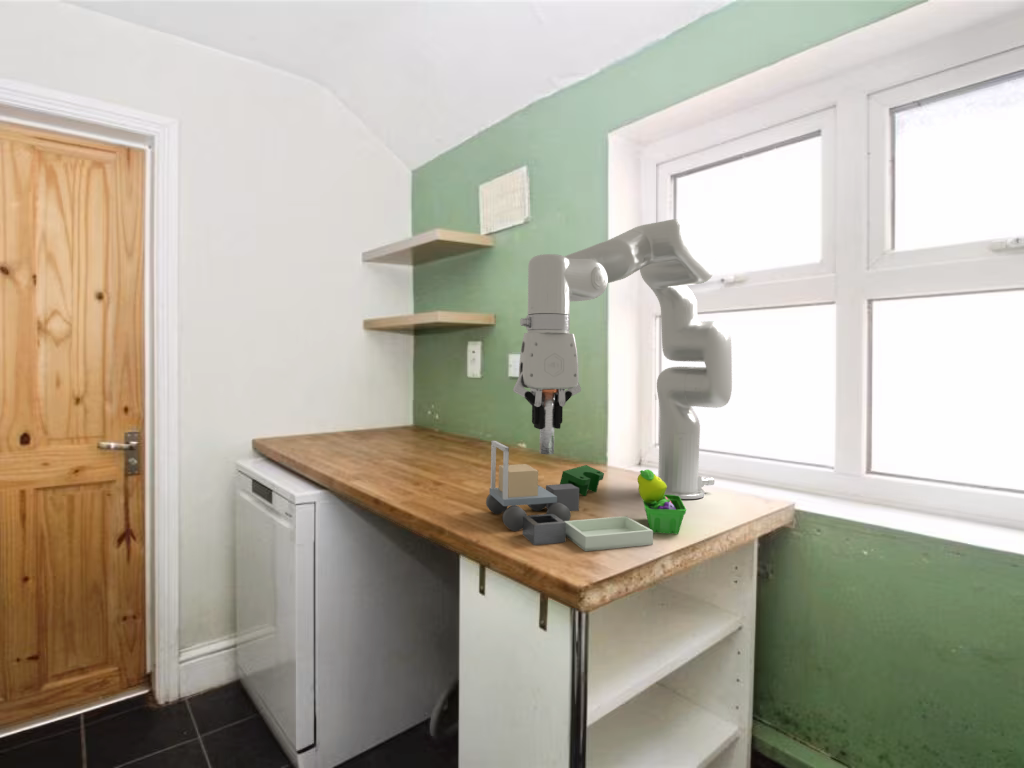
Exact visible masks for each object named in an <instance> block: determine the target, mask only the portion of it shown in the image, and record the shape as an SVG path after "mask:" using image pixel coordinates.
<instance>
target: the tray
mask: <svg viewBox="0 0 1024 768" xmlns="http://www.w3.org/2000/svg"><path fill="white" fill-rule="evenodd" d="M564 522H565V523H566V539H567V538H568V540H570V541H571V542H573V543H574V544H575V545H577V546H578V547H579V548H580V549H582V550H583V551H584V552H591V551H601V550H602V551H603V550H611V549H620V548H621V549H622V548H629V547H630V548H632V547H641V546H649V545H650V546H652V545H653V543H654V541H653V539H654V533H653V530H651V529H650V528H649V527H647V526H646V525H643V524H641V523H640V522H638V521H636V520H635V519H632V518H631V517H629V516H628V515H624V516H623V515H622V516H610V517H599V518H598V517H597V518H586V519H584V518H583V519H573V520H569V521H564Z"/></svg>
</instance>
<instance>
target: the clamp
mask: <svg viewBox="0 0 1024 768" xmlns="http://www.w3.org/2000/svg"><path fill="white" fill-rule="evenodd" d="M604 476H605V473H604V472H602V471H601V470H598V469H596V468H594V467H592V466H589V465H586V464H585V465H584V464H583V465H581V466H578V467H572V468H571V469H566V470H563V471H562V474H561V478H560V482H559V484H572V485H574V486H576V487H578V488H579V495H581V496H582V497H583V496H584V497H587V494H588V491H591V492H593V493H597V491H598V487H599V484H600V481H603V479H604Z"/></svg>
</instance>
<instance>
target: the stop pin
mask: <svg viewBox="0 0 1024 768" xmlns="http://www.w3.org/2000/svg"><path fill="white" fill-rule="evenodd" d="M555 393H558V389H542V399H541V403H542V407H543V408H544V428H543V429H539V454H540V455H553V454H555V428H554V416H555Z"/></svg>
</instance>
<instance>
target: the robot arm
mask: <svg viewBox="0 0 1024 768" xmlns="http://www.w3.org/2000/svg"><path fill="white" fill-rule="evenodd" d="M715 260H716V259H715V257H714V254H713V252H712V250H711V248H710V246H709V245H708V244H707V243H706V242H705V241H704V240H703V239H702V237H700V236H699V234H698V233H696V231H695V230H694V229H693V228H692V227H691V226H689V225H688V224H687V223H686V222H684V221H682V220H680V219H668V220H662V221H657V222H652V223H646V224H641V225H637V226H635V227H633V228H632V229H629V230H626V231H624V232H622V233H620V234H619V235H616V236H614V237H611V238H610V239H608V240H605V241H602V242H599V243H596V244H594V245H591V246H589V247H587V248H586V247H585V248H584V249H582V250H578V251H575V252H572V253H569V254H567V255H565V256H564V255H561V254H555V253H549V254H545V253H544V254H543V253H542V254H539V255H534V256H533V257H532V258H530V260H529V261H528V268H527V271H528V272H527V274H528V275H527V277H528V278H527V280H528V281H527V315H526V316H525V317H524V318H520V321H519V326H520V327H521V326H522V327H525V328H526V329H525V330H526V331H527V332H524V333H523V337H522V342H521V347H520V348H521V349H520V354H519V366H518V377H517V380H516V382H515V384H514V386H513V388H512V391H513V392H514V393H516V395H517V394H518V395H520V396H521V397H523V398H524V399H525V400H526V401H527V402H528V403H529V404H530V406H531V423H532V425H533V427H534V429H537V430H540V429H543V428H544V408H543V407H542V403H541V399H542V389H558V393H555V416H554V429H557V430H558V429H559V430H560V429H561V424H562V423H563V407H564V406H565V405H566V403H567V402H568V401H569V399H570V398H571V397H573V396H575V395H577V394H579V393H580V392H581V391H582V388H581V385H580V383H579V359H578V350H577V342H576V338H575V334H574V333H570V325H571V323H570V321H571V319H570V318H571V313H570V312H571V302H583V301H590V300H595V299H596V298H599V297H600V296H602V295H603V293H604V292H605V291H606V290H607V286H608V283H609V284H610V283H614V282H618V281H621V280H624V279H626V278H628V277H629V276H631V275H633V274H634V273H636V272H638V271H639V272H640V277H641V279H642V281H644V282H645V284H646V285H647V286H648V287H649V288H650V289H651V290H652V292H653V293H654V295H655V296H656V298H657V300H658V302H659V306H660V316H661V317H660V318H661V319H660V320H661V324H660V325H661V345H662V346H661V348H662V353H663V356H664V357H665V358H666V360H669V361H674V362H693V363H694V362H695V363H696V362H698V363H699V362H701V363H704V364H705V367H703V366H702V367H701V366H698V367H697V366H671V367H668V368H666V369H664V370H662V371H661V372H660V373H659V375H658V376H657V378H656V393H657V397H658V405H659V435H658V436H659V441H658V443H659V444H658V447H659V448H658V473H657V474H658V475H657V477H659V478H660V479H661V480H662V481H664V482H665V484H666V486H667V489H666V491H665V494H664V495H676V496H679V497H680V499H681V500H697V499H701V498H703V497H705V491H704V489H702V488H703V487H705V486H713V485H715V479H714V478H713V477H705V478H703V476H701V475H699V467H700V466H699V463H700V461H699V460H700V439H701V438H700V435H701V433H700V432H701V425H700V420H699V418H698V415H697V414H696V412H695V411H694V409H693V407H697V408H698V407H699V408H715V409H716V408H722V407H725V406H726V405H727V404H728V403H729V402H730V399H731V397H732V387H733V378H732V377H733V376H732V375H733V373H732V372H733V371H732V367H733V366H732V362H733V361H732V359H733V358H732V337H731V334H730V332H729V329H728V327H727V326H726V325H725V324H724V323H722V322H720V321H713V320H711V321H710V320H707V321H705V320H704V321H700V320H699V315H698V300H697V299H696V296H695V295H694V292H693V291H692V290H691V289H690V287H689V286H692V285H702V284H704V283H706V282H708V281H709V280H710V279H711V278H712V277H713V276H714V273H715V270H716V269H715V268H716V261H715ZM525 388H527V389H530V391H529V390H527V389H525Z"/></svg>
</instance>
